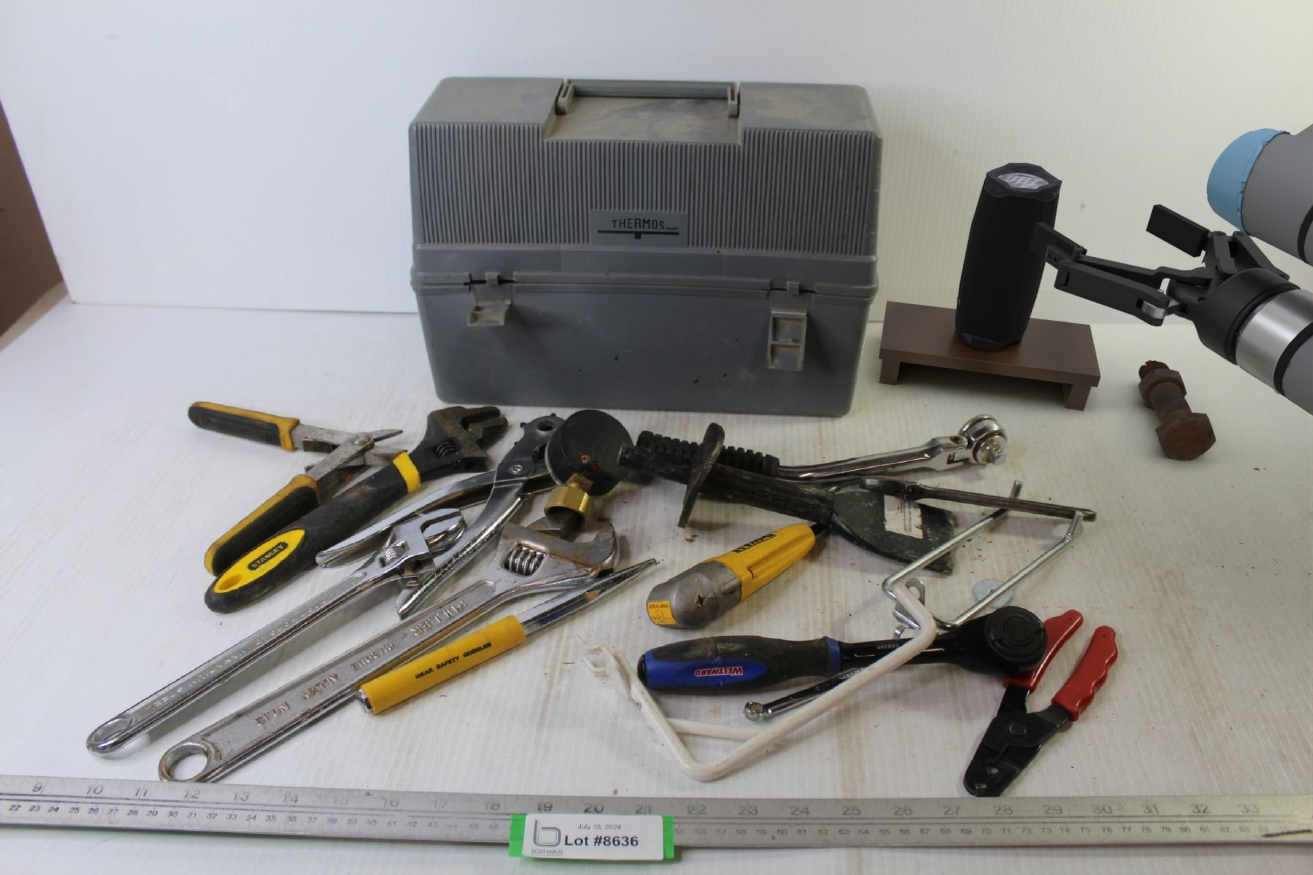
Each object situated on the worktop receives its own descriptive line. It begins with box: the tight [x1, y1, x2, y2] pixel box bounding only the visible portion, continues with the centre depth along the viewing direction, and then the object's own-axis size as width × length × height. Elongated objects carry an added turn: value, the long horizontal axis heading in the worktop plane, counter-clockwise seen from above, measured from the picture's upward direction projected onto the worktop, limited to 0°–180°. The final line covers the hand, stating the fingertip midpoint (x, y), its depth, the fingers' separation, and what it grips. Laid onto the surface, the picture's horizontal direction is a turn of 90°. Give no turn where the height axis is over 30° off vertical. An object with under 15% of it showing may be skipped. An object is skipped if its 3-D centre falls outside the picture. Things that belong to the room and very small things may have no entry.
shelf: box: [878, 300, 1102, 411], centre depth 115 cm, size 24×12×5 cm, turn 75°
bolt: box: [1138, 359, 1217, 461], centre depth 107 cm, size 6×5×15 cm
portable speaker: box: [955, 162, 1063, 352], centre depth 108 cm, size 9×9×20 cm
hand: (1095, 226), depth 94 cm, fingers open, 13 cm apart
